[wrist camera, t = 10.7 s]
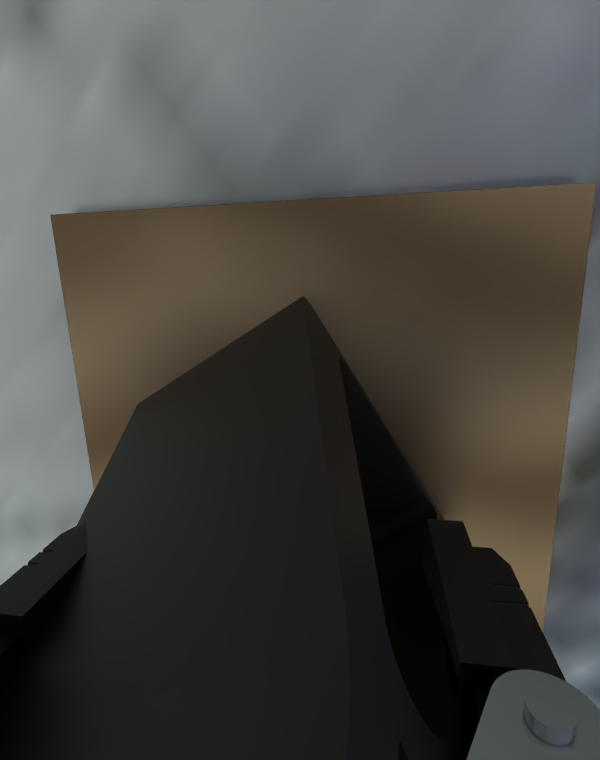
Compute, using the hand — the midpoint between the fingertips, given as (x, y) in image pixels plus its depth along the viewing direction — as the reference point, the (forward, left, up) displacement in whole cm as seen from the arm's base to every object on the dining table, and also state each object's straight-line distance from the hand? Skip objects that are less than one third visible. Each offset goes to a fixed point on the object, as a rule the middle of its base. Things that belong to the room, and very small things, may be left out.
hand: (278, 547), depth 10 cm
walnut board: (0, 0, -6) cm, 6 cm away
